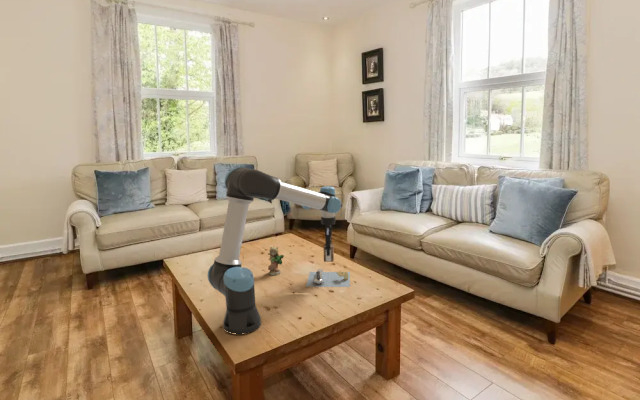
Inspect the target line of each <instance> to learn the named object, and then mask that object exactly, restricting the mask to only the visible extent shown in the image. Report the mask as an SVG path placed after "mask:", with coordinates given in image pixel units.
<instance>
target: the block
mask: <svg viewBox="0 0 640 400" xmlns="http://www.w3.org/2000/svg"><path fill="white" fill-rule="evenodd" d="M324 248H326V244H325V243H324V244H323V262H324V263H326V262H327V263H329V262H330V263H333V262H334V260H335V258H334V257H335V255H334V253H335V252H334V251H335V250H334V248H335V247H334V243H333V244H331V261H326V250H324Z"/></svg>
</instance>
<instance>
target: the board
mask: <svg viewBox="0 0 640 400" xmlns="http://www.w3.org/2000/svg"><path fill="white" fill-rule="evenodd" d="M337 272H338V271H323V277H322V279H323V283H322V284H319V285H317V284H314V278H317V279H320V271H309V274H308V278H307V281H306V284H305V288H306V287H309V288H313V287H314V288H315V287H316V288H320V287H321V288H331V287H332V288H349V287H351V272H350V271H346V272H347V273H348V280H345V279H344V276H342V277H339V276H338V274H337Z"/></svg>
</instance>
